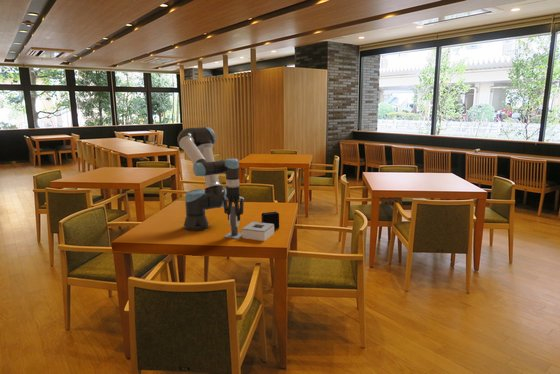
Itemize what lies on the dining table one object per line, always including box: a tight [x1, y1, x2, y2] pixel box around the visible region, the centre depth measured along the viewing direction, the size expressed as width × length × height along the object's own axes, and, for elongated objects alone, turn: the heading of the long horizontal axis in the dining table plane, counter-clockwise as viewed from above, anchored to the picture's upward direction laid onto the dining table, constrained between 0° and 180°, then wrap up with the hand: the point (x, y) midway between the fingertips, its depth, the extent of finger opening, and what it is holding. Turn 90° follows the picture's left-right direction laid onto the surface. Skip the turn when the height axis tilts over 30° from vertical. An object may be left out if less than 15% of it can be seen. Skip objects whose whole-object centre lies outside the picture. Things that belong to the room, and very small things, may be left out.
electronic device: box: [261, 211, 280, 230], centre depth 235 cm, size 4×10×10 cm, turn 111°
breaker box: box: [241, 221, 275, 242], centre depth 223 cm, size 14×14×6 cm
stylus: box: [230, 205, 239, 236], centre depth 221 cm, size 4×4×17 cm
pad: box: [223, 231, 242, 240], centre depth 223 cm, size 9×9×1 cm
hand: (234, 225), depth 222 cm, fingers closed on stylus, 3 cm apart
